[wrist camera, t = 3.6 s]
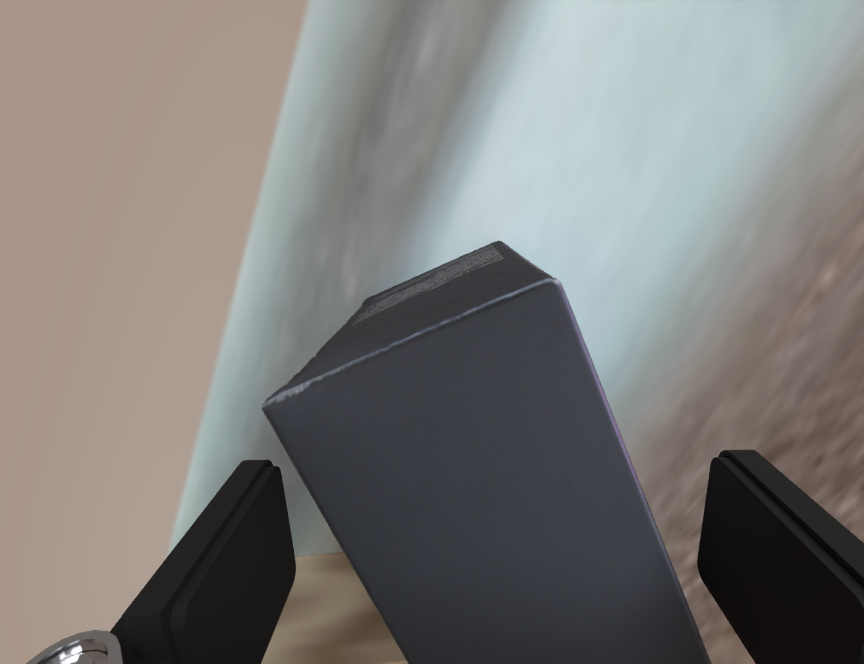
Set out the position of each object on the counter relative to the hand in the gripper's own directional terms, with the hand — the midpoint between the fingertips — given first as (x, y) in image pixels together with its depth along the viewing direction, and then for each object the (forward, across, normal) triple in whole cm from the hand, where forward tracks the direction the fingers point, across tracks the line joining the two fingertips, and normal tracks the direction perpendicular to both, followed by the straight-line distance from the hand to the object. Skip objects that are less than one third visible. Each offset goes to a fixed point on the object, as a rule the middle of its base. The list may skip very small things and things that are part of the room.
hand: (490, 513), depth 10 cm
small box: (+10, 0, +1) cm, 10 cm away
